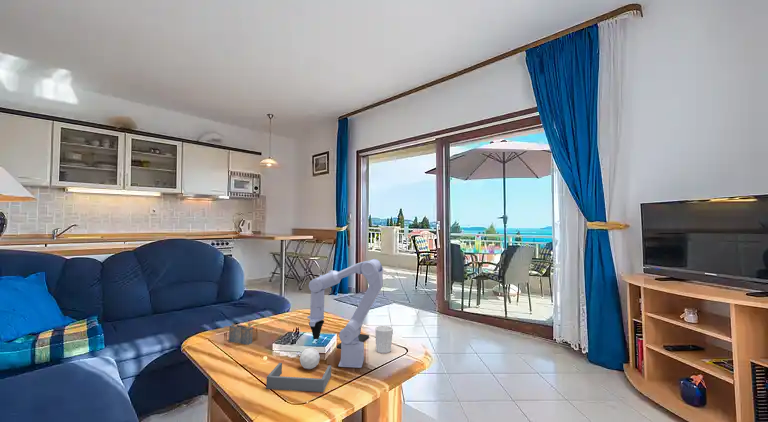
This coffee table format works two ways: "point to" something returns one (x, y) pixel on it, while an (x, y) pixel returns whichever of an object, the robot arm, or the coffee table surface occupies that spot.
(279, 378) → the box
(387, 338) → the white cup
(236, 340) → the ruin model on sheet
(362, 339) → the smart home device
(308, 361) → the geometric ball
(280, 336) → the coffee table surface
